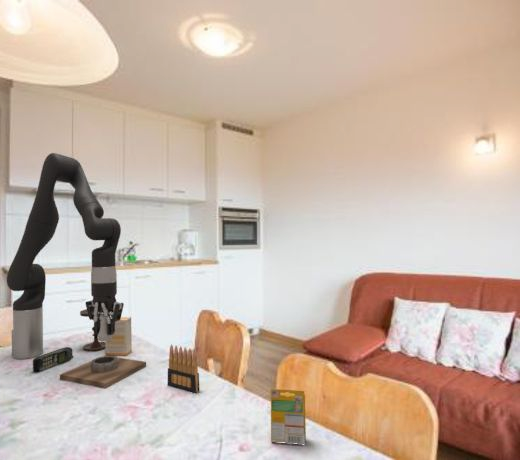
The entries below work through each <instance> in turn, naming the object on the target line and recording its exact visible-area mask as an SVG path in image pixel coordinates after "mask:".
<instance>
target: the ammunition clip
mask: <svg viewBox="0 0 520 460" xmlns="http://www.w3.org/2000/svg"><path fill="white" fill-rule="evenodd" d="M168 356H169V357H168V368H167V385H166V386H168V387H171V388H174V389H178V390H181V391H184V392H189V393H191V392H192V393H191V394H194V393H195V394H197V393H198V392H200V373H199V370H198V355H197V350H196V349H193V352H192V349H191V348H190V347H189V349H188V348H187V347H185V346H184V348H182V346H179V349H178V345H175V347H174V346H173V344H170V346H169V355H168Z"/></svg>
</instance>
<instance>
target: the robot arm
mask: <svg viewBox="0 0 520 460" xmlns="http://www.w3.org/2000/svg"><path fill="white" fill-rule="evenodd" d="M38 181H39V182H38V186H37V191H36V194H35V197H34V201H33V204H32V207H31V210H30V213H29V216H28V218H27V222H26V225H25V228H24V231H23V235H22V238H21V241H20V243H19V246H18V248H17V250H16V253H15V255H14V257H13V259H12V261H11V265H10V267H9V269H8V271H7V274H6V285H7V287H8V288H9V289H10V290H11V291H14V292H22V291H23V292H22V294H21V295H20V297H17V299H15V300H14V301H13V303H12V330H11V357H13V358H14V359H16V360H24V359H25V360H27V359H32V358H36V357H39V356H41V355H43V354H44V315H43V314H44V313H43V310H44V309H43V306H44V305H43V303H44V300H45V296H46V272H45V269H44V268H43V266H42V265H41V264H38V263H35V259H36V257H37V256H38V254H39V253H40V252H41V251H42V250H43V249H44V248H45V246H46V245H48V244H49V242H51V240H52V239H53V237H54V235H55V233H56V231H57V227H58V224H59V221H60V214H59V211H58V207H57V204H56V201H55V195H54V194H55V193H54V191H55V185H56V183H57V182H60V183H64V184H65V183H66V184H67V183H68V184H70V185H71V186H72V188H74V192H73V199H72V200H73V204H74V207H75V209H76V210H77V212H78V214H79V216H80V217H81V219H82V223H83V228H84V234H85V235H86V237H87V238H88V239H89V240H91V241H103V244H102V246H100V247H96V248H94V249H93V250H92V251H91V272H90V283H91V284H90V289H91V290H90V291H91V292H90V293H91V297H92V299H91V300H87V301H85V307H86V309H87V312H88V316H89V317H88V319H89V321H90V320H92V321H93V323H94V322H95V333H96V334H99V332H100V326H101V323H100V322H101V320H100V319H99V317H100V314H102V315H103V314H104V315H105V317H106V318H107V322H108V324H107V335H112V334H114V332H115V322H116V321H119V320H120V319H121V317H122V314H123V308H124V305H125V304H124V302H118V301H117V299H116V295H117V293H118V289H117V288H118V287H117V286H118V283H117V282H118V279H117V277H118V276H117V269H116V266H117V265H116V263H117V262H116V253H117V249H118V244H119V241H120V237H121V231H122V229H121V225H120V223H119V221H118V220H117V219H116V218H110V217H107V218H105V217H103V216H104V213H105V210H104V208H103V206H102V205H101V203H100V202H99V200H98V198H96V196H95V194H94V193H93V191H92V189H91V186H90V184H89V180H88V178H87V176H86V174H85V171H84V168H83V166H82V164H81V162H79V161H78V159H76V158H73V157H70V156H67V155H63V154H60V153H56V152H51V153H49V154H48V155H47V156H46V157H45V159H44V161H43V163H42V169H41V172H40V177H39V180H38ZM92 312H93V315H92ZM108 312H111V313H108ZM111 318H112V319H111Z"/></svg>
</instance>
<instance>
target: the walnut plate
mask: <svg viewBox="0 0 520 460" xmlns="http://www.w3.org/2000/svg"><path fill="white" fill-rule="evenodd" d="M103 356H106V354H105V355H102V356H101V357H103ZM118 358H119V366H118V368H117V369H115V370H113V371H110V372H105V373H95V372H92V371H91V361H92V360H91V361H88V362H86V363H84V364H81V365H78V366H77V367H74V368H72V369H70V370H67V371H65V372H63V373H60V374H59V380H61V381H66V382H70V383H76V384H81V385H86V386H91V387H97V388H101V389H107V388H109V387H111V386H112V385H114V384H116V383H119V382H120V381H121V380H124V379H125V378H128V377H129V376H132V375H134V373H137V372H138V371H140V370H142V369H144V368H146V367H147V361H145V360H144V361H143V360H137V359H132V358H131V359H130V358H122V357H118Z"/></svg>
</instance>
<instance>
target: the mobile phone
mask: <svg viewBox="0 0 520 460" xmlns="http://www.w3.org/2000/svg"><path fill="white" fill-rule="evenodd" d="M72 358H74V355H73V348H72V347H69V346H66V347H61V348H58V349H55V350H53V351H49V352H48V353H43V354H41V355H39V356H36V357H34V359H33V360H32V371H33V373H34V374H38V373H41V372H43V371H46V370H49V369H51V368H54V367H57V366H60V365H62V364H65V363H66V362H69V361H70V360H71V359H72Z"/></svg>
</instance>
